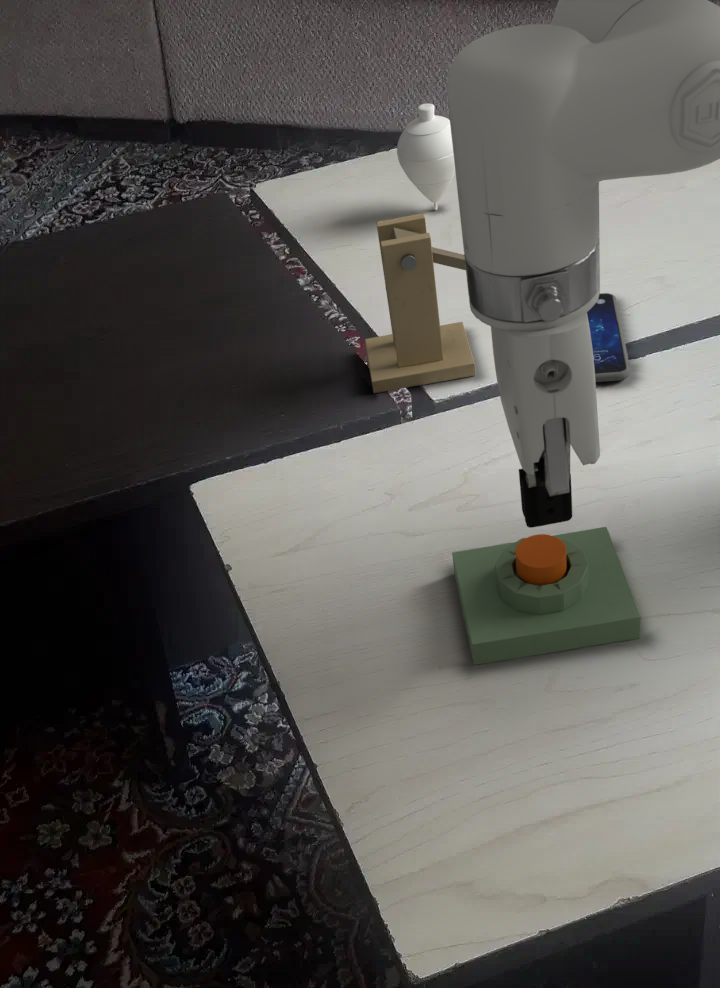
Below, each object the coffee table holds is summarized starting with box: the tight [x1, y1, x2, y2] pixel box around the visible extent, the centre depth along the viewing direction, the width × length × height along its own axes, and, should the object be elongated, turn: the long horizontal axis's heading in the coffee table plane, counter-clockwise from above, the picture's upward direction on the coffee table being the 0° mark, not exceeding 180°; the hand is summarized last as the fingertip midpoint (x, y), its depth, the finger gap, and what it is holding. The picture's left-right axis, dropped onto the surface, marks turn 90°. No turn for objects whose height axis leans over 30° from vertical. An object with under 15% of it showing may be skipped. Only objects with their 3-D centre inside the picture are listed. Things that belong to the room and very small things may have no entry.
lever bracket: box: [364, 212, 477, 394], centre depth 100 cm, size 10×8×14 cm
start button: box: [515, 533, 567, 585], centre depth 77 cm, size 4×4×2 cm
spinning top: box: [396, 102, 456, 211], centre depth 124 cm, size 8×8×12 cm
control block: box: [451, 526, 642, 666], centre depth 78 cm, size 12×10×4 cm
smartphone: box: [587, 292, 631, 383], centre depth 103 cm, size 7×1×15 cm
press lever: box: [390, 228, 466, 271], centre depth 98 cm, size 13×6×2 cm, turn 95°
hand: (547, 516), depth 74 cm, fingers closed
